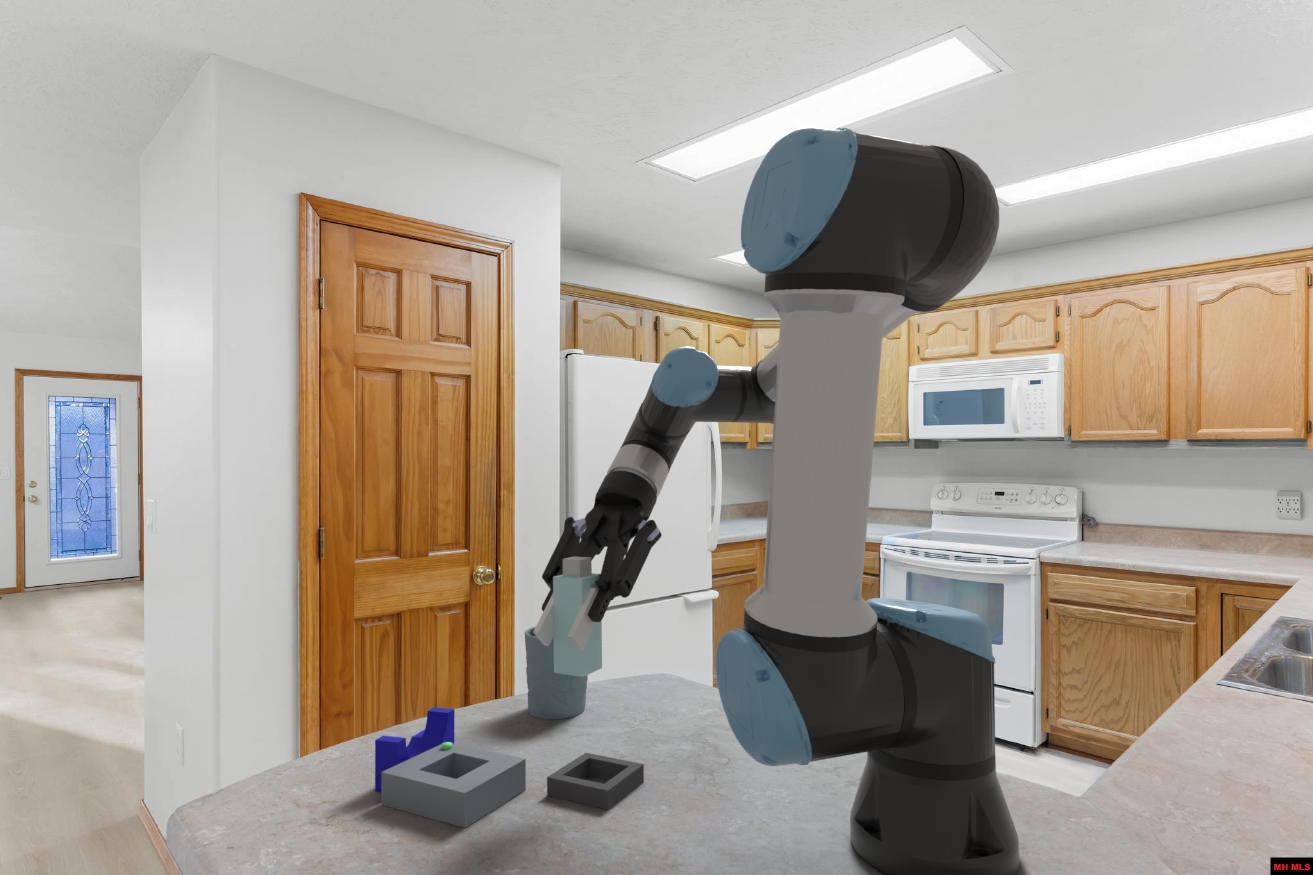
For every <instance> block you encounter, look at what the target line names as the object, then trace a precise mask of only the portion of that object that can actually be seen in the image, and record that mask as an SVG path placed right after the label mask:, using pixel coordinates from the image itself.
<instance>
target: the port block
mask: <svg viewBox="0 0 1313 875" xmlns="http://www.w3.org/2000/svg"><path fill="white" fill-rule="evenodd" d="M526 764H527V763H526V758H524V757H519V756H514V755H509V754H504V753H499V752H495V751H491V750H490V751H489V750H485V749H481V748H476V747H471V746H467V745H462V744H457V743H455V742H454V743H451V742H445V743H442V744H441V745H439V746H436V747H434V748H432V749H430V750H428V751H426V752H424V753H421V754H419V755H417V756H415V757H413V758H411V759H408V760H406V761H404V762H402V763H400V764H398V765H396V766H393V767H391V768H389V769H387V770H385V771H383V772H381V792H380V796H381V799H380V800H381V801H380V802H381V806H385V807H390V808H393V809H397V810H400V811H403V812H407V813H410V814H413V815H417V816H421V817H425V818H428V819H433V820H436V821H439V822H443V823H447V824H450V825H453V826H457V827H459V828H464V829H466V828H467V827H469V826H471V825H473V824H474V823H475V822H477V821H479V820H480V819H482V818H483V817H485V816H487V815H488V814H489V813H491V812H493V811H495V810H496V809H498V808H500V807H501V806H503V805H505V804H506V803H508V802H509V801H510V800H512V799H514V798H515V797H517V796H518V795H520V794H521V793H524V792H525V791H526V787H527V786H526V784H527V781H526V780H527V779H526V776H527V774H526V766H527V765H526Z"/></svg>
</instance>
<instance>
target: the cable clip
mask: <svg viewBox="0 0 1313 875" xmlns="http://www.w3.org/2000/svg"><path fill="white" fill-rule="evenodd" d="M426 711H427V712H426V713H427V714H426V722H425V727H424V729H423V730H421V731H419V732H418V733H416V734H414V735H413V736H411V737H410V741H409V742H408V744H407V738H406V737H399V736H391V735H382V736H380V737H378V738H376V739H375V741H374V742H375V743H374V758H375V759H374V762H375V763H374V766H375V767H374V791H375V793H381V772H383V771H385V770H387V769H389V768H391V767H393V766H396V765H398V764H400V763H402V762H404V761H406V760H408V759H411V758H413V757H415V756H417V755H419V754H421V753H424V752H426V751H428V750H430V749H432V748H434V747H436V746H439V745H441V744H442V743H445V742H451V743H454V744H455V708H445V707H432V708H430V709H428V710H426Z"/></svg>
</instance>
